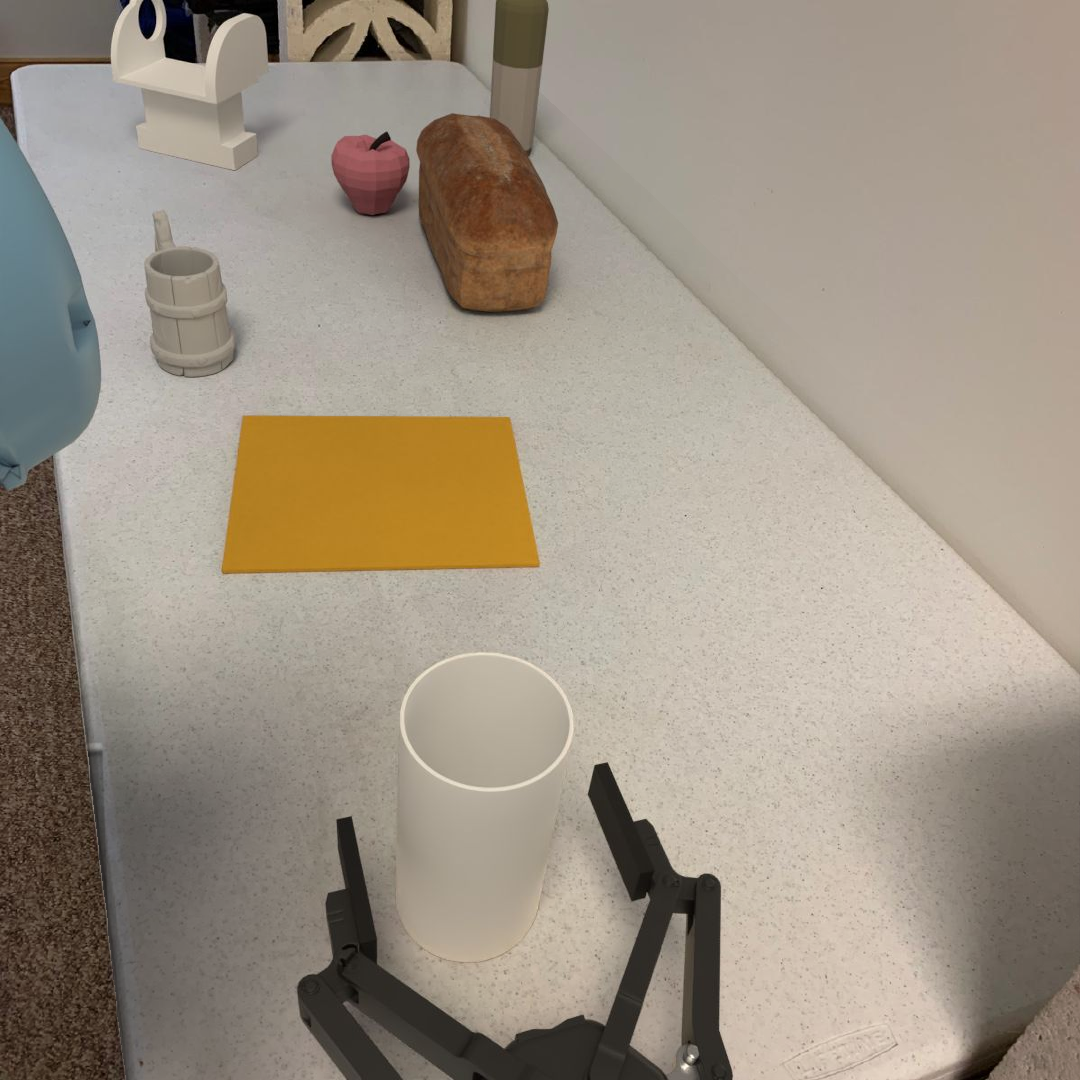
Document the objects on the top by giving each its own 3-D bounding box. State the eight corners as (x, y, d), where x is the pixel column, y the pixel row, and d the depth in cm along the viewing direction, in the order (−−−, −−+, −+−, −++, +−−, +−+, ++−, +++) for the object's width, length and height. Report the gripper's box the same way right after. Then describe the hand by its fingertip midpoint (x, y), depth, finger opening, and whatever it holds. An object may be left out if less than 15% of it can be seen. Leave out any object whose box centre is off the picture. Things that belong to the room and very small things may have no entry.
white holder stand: (126, 154, 129) (100, 1, 117) (181, 125, 138) (162, -20, 126) (224, 177, 126) (208, 24, 115) (274, 145, 136) (263, 0, 124)
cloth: (222, 573, 74) (221, 569, 74) (243, 418, 89) (242, 415, 88) (539, 566, 78) (540, 563, 78) (509, 420, 93) (509, 416, 92)
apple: (386, 191, 128) (387, 112, 122) (423, 218, 124) (425, 136, 117) (320, 204, 124) (316, 122, 117) (355, 232, 119) (353, 148, 112)
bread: (500, 211, 128) (510, 95, 118) (558, 320, 108) (575, 191, 98) (407, 211, 125) (409, 92, 115) (449, 324, 105) (455, 191, 95)
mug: (166, 386, 91) (146, 264, 83) (131, 325, 98) (109, 208, 90) (248, 369, 94) (235, 251, 87) (208, 311, 102) (194, 197, 94)
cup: (381, 847, 58) (381, 668, 48) (513, 815, 61) (541, 638, 50) (414, 981, 53) (423, 810, 42) (559, 939, 55) (600, 769, 45)
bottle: (478, 144, 144) (493, -97, 124) (521, 142, 147) (543, -95, 127) (496, 163, 140) (516, -84, 120) (541, 160, 142) (567, -83, 123)
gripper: (288, 1430, 36) (234, 897, 50) (875, 1203, 43) (678, 796, 58) (273, 1393, 31) (218, 814, 45) (939, 1144, 38) (706, 715, 53)
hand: (475, 803), depth 52 cm, fingers open, 13 cm apart
